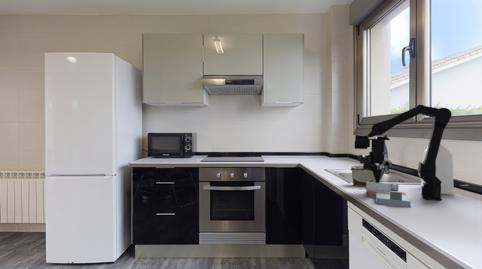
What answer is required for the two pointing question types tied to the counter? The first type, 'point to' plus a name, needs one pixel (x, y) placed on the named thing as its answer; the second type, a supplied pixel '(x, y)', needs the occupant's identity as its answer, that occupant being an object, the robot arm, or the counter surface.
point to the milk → (443, 169)
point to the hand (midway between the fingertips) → (377, 182)
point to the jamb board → (373, 193)
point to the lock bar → (381, 186)
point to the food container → (361, 176)
